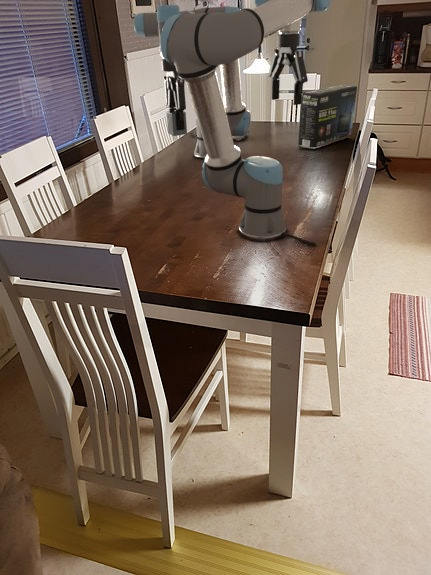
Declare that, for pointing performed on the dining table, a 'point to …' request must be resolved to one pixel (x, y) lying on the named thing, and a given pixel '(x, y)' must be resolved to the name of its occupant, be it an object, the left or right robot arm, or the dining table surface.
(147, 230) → the dining table surface
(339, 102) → the router box
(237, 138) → the fossil
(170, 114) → the block
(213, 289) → the dining table surface
